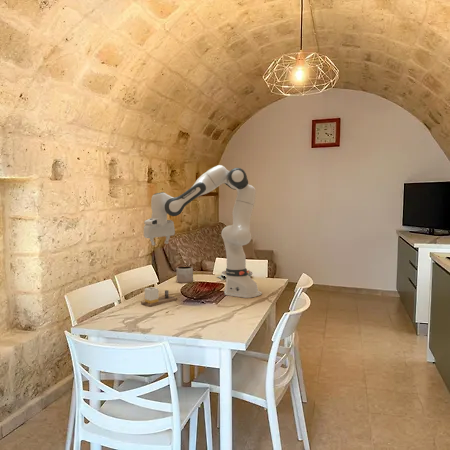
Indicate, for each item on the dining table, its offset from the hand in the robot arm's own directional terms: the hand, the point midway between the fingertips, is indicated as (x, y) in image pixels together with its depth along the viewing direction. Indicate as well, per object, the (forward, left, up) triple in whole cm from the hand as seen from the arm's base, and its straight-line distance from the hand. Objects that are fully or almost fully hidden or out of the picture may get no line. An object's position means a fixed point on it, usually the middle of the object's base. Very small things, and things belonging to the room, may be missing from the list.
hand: (160, 244), depth 233 cm
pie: (-4, -62, -30) cm, 69 cm away
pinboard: (-15, +13, -29) cm, 35 cm away
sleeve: (-14, +18, -28) cm, 36 cm away
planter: (+14, -30, -29) cm, 45 cm away
